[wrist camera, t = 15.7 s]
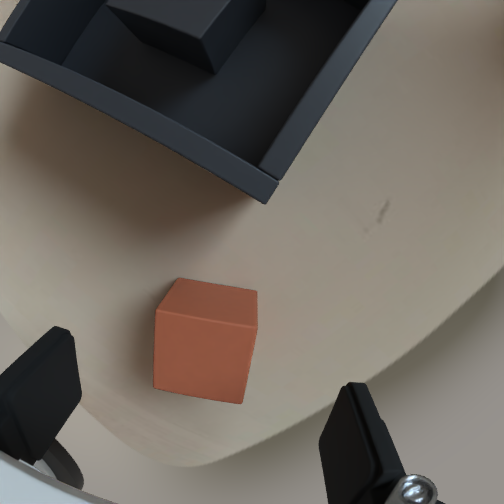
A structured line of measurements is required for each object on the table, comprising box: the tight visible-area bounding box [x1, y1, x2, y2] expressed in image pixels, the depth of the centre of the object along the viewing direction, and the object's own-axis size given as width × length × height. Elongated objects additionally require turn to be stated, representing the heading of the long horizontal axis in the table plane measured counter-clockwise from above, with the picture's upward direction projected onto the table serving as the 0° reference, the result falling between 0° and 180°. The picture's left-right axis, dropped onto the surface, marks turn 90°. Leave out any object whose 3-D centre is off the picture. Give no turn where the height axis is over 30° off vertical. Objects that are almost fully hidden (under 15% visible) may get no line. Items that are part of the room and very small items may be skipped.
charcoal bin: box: [0, 0, 397, 204], centre depth 10 cm, size 12×14×6 cm
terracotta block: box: [153, 278, 258, 404], centre depth 14 cm, size 4×4×4 cm
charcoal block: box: [105, 0, 266, 75], centre depth 10 cm, size 4×4×4 cm
